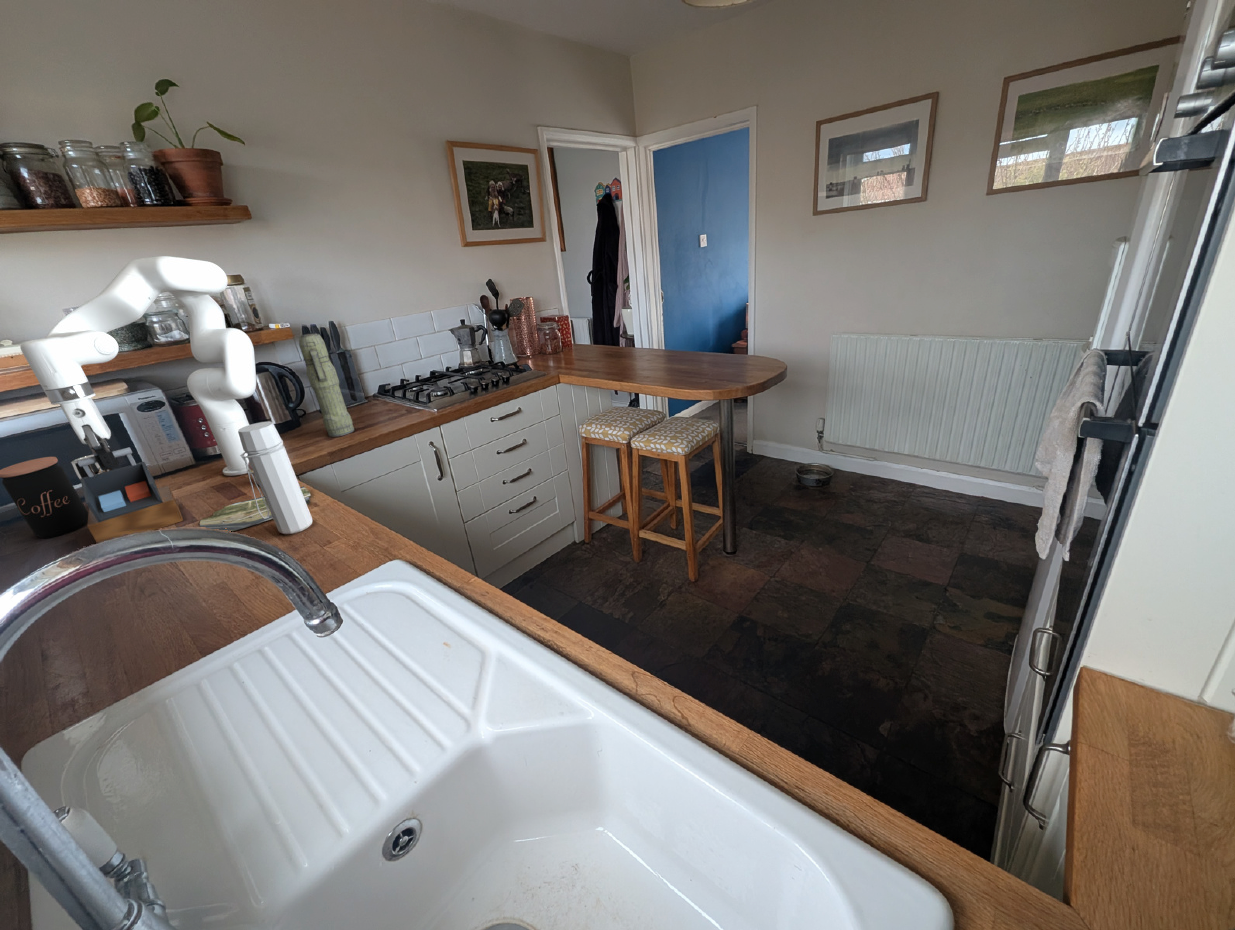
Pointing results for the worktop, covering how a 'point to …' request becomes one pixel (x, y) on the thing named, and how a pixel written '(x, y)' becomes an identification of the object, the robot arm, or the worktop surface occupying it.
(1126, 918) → the worktop surface
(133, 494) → the block
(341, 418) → the thermos
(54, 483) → the coffee jar
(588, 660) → the worktop surface
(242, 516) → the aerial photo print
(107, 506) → the block
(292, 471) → the water bottle
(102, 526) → the riser
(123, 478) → the basket
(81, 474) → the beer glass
